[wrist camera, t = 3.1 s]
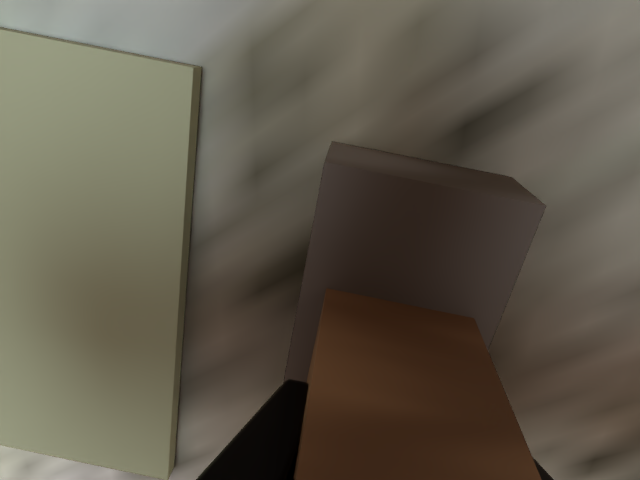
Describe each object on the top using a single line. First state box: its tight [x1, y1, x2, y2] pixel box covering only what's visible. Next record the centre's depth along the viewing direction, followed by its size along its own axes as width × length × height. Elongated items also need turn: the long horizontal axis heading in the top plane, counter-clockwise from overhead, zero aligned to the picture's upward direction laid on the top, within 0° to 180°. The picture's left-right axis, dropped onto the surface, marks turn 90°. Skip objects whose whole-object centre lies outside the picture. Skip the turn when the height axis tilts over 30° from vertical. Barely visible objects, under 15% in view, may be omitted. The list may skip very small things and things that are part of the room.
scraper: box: [283, 142, 546, 480], centre depth 8 cm, size 4×8×8 cm, turn 170°
